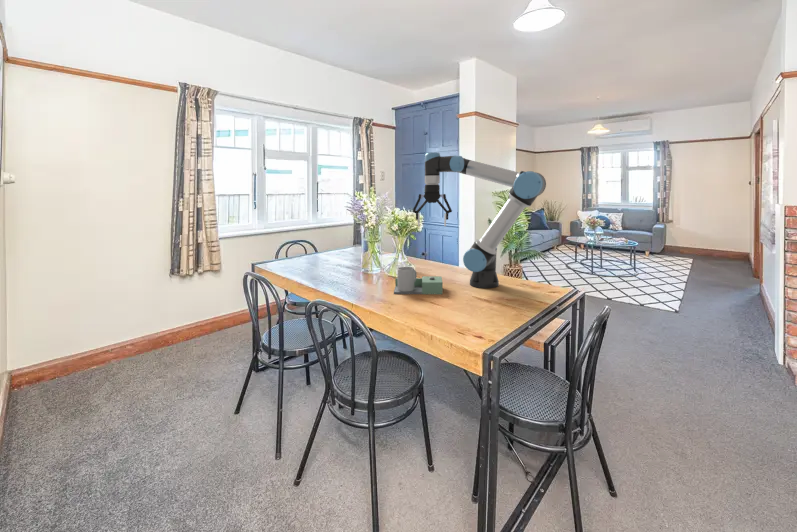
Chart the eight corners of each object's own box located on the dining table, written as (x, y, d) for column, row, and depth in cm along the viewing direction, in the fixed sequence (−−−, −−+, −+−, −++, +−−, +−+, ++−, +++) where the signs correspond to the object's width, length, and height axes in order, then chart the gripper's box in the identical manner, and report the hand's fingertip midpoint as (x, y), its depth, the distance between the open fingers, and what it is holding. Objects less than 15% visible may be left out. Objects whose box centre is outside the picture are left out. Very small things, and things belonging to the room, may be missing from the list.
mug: (406, 292, 191) (406, 270, 189) (394, 289, 197) (393, 268, 195) (422, 288, 200) (422, 267, 198) (409, 285, 206) (409, 264, 203)
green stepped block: (441, 287, 204) (441, 274, 203) (442, 294, 192) (442, 280, 190) (395, 287, 206) (395, 274, 205) (393, 294, 193) (393, 280, 192)
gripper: (456, 184, 201) (455, 225, 205) (407, 184, 203) (408, 225, 207) (457, 184, 194) (456, 226, 198) (407, 184, 195) (407, 227, 200)
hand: (431, 226), depth 203 cm, fingers open, 13 cm apart
